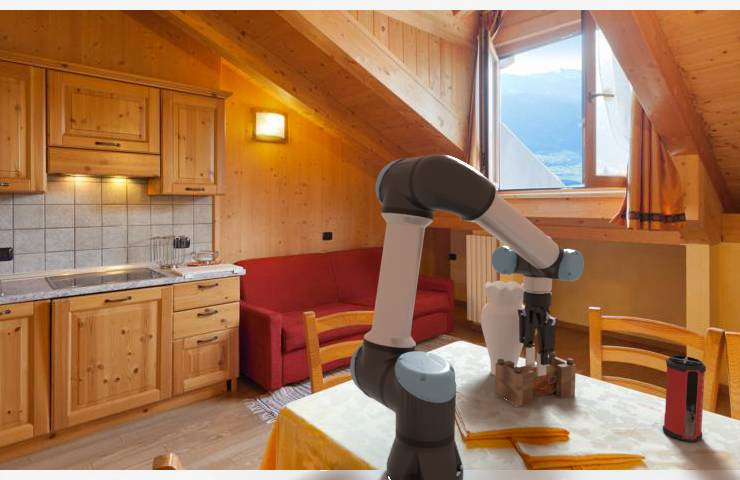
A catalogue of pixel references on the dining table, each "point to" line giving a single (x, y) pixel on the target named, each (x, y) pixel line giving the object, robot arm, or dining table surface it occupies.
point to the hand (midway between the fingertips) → (535, 372)
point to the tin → (543, 380)
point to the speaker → (684, 398)
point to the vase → (502, 321)
